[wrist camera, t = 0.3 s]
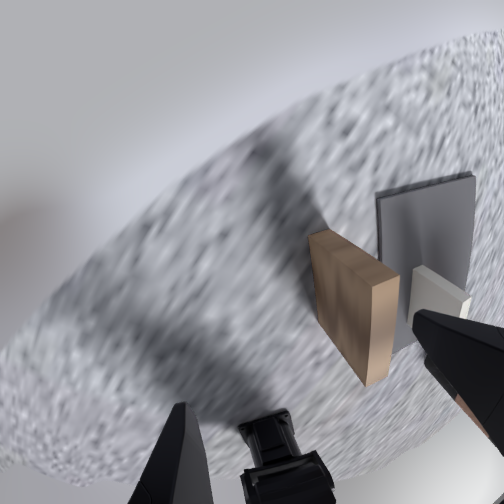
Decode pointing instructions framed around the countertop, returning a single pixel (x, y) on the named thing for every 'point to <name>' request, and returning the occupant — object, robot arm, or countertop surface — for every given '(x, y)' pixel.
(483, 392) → the robot arm
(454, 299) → the tile
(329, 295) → the flat wooden plank
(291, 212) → the countertop surface
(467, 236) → the mat
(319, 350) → the countertop surface
